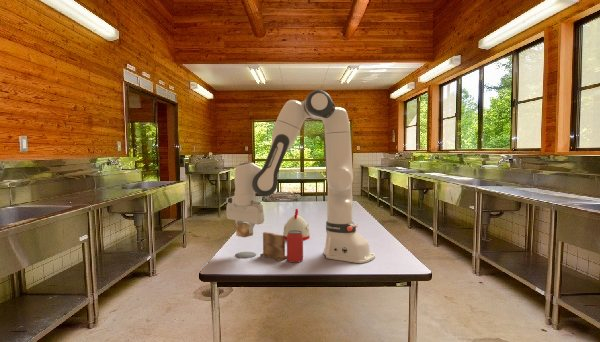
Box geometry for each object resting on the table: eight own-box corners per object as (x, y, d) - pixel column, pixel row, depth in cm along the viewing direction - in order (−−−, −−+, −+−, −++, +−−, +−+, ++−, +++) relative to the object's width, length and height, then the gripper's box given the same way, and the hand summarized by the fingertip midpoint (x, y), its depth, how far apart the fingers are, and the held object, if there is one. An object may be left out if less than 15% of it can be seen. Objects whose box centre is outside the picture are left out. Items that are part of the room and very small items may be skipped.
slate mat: (260, 254, 147) (260, 254, 147) (244, 259, 140) (244, 259, 140) (245, 250, 153) (245, 250, 153) (230, 255, 146) (230, 255, 146)
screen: (287, 258, 142) (287, 234, 141) (279, 261, 138) (279, 237, 137) (268, 253, 149) (268, 231, 148) (260, 256, 145) (260, 233, 144)
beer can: (294, 257, 144) (294, 229, 143) (306, 260, 140) (306, 231, 139) (283, 260, 139) (283, 231, 138) (295, 264, 135) (295, 234, 134)
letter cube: (252, 235, 147) (252, 223, 146) (244, 237, 143) (244, 225, 142) (245, 233, 150) (245, 221, 149) (236, 235, 146) (236, 223, 145)
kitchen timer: (310, 234, 184) (310, 207, 183) (308, 241, 170) (308, 211, 170) (285, 234, 185) (285, 207, 185) (281, 240, 172) (281, 211, 171)
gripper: (267, 201, 142) (267, 234, 142) (234, 197, 154) (234, 227, 155) (256, 203, 137) (256, 236, 137) (223, 198, 149) (223, 229, 150)
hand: (244, 231), depth 146 cm, fingers closed on letter cube, 5 cm apart
